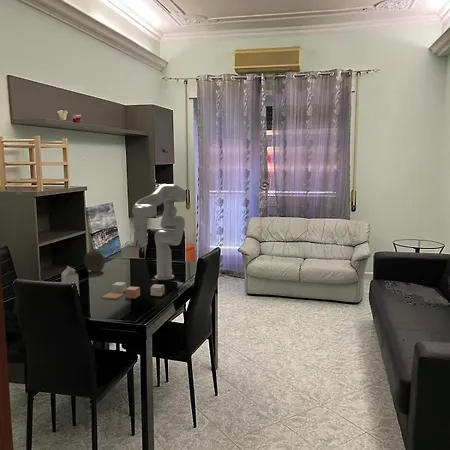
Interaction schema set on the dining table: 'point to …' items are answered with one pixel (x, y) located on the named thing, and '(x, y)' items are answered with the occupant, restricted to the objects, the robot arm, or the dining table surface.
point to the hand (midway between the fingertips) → (141, 257)
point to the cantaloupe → (94, 261)
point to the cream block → (157, 290)
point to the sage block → (118, 287)
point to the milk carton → (70, 276)
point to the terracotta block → (132, 292)
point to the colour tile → (113, 295)
